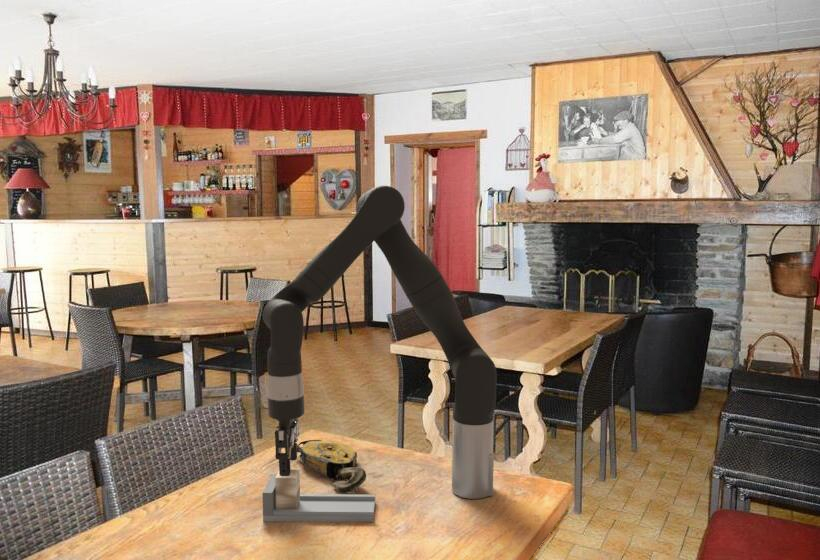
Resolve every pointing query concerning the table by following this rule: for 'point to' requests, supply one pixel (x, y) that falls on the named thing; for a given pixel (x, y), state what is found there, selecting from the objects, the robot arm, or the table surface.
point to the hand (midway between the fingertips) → (288, 467)
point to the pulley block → (333, 463)
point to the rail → (319, 507)
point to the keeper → (287, 490)
